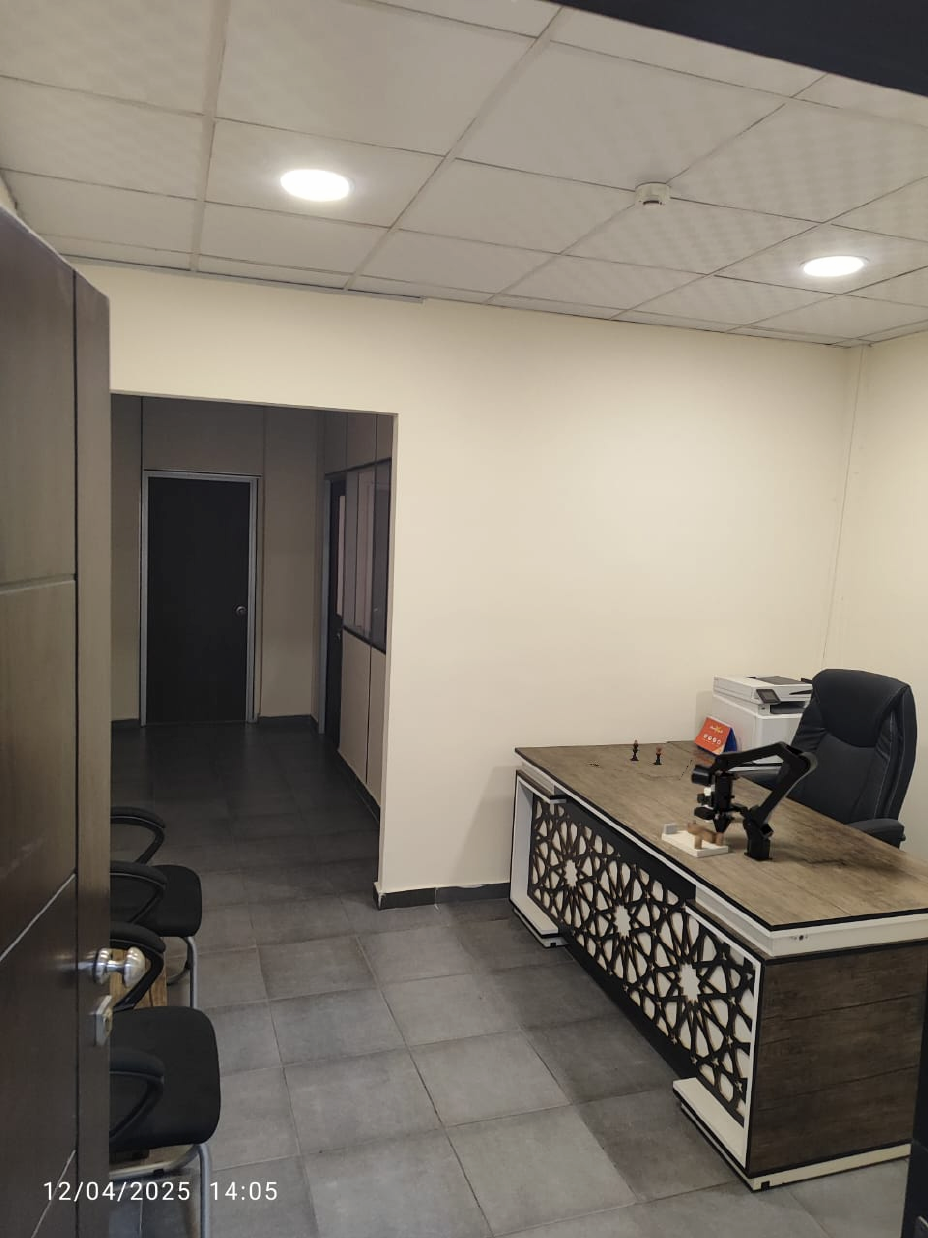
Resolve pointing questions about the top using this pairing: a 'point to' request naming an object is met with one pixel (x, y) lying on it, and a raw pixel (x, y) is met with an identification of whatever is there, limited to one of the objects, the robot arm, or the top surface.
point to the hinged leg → (701, 832)
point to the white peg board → (693, 842)
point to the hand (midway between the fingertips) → (719, 836)
